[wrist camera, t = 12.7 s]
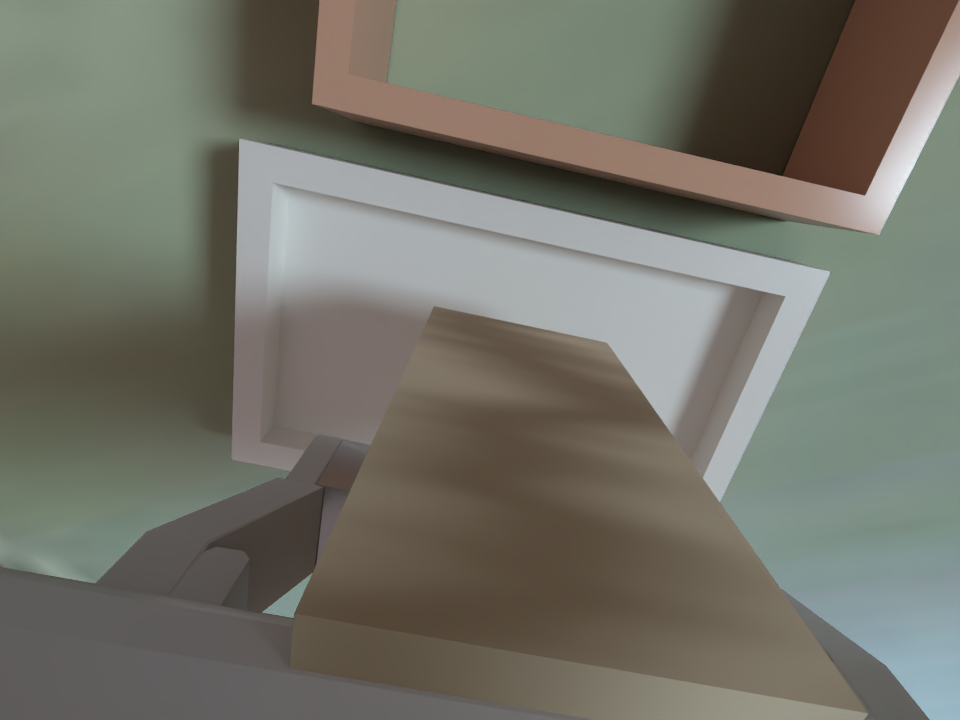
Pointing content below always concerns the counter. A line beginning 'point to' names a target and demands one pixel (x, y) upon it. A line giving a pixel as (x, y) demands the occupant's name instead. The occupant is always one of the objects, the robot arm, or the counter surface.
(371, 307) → the white tray
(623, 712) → the maple block
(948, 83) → the terracotta square frame
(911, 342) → the counter surface
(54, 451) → the counter surface
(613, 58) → the counter surface
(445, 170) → the counter surface
